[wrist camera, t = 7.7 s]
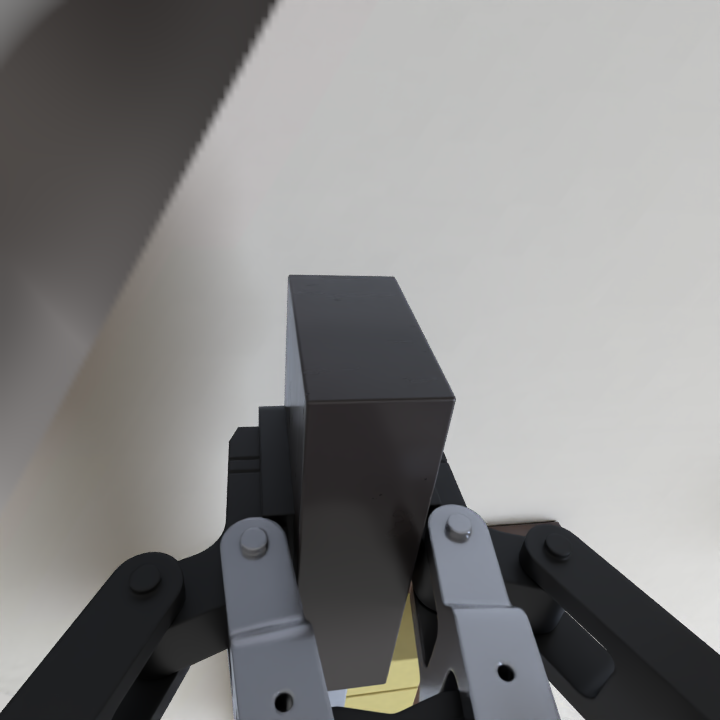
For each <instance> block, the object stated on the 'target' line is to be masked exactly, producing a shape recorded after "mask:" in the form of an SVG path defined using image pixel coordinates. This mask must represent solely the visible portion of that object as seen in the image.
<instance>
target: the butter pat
mask: <svg viewBox="0 0 720 720" xmlns="http://www.w3.org/2000/svg"><path fill="white" fill-rule="evenodd" d="M419 683H420V673H419V665H418V657H417V650H416V642H415V635H414V627H413V620H412V612H411V605H410V593H408V596H407V600H406V604H405V608H404V612H403V616H402V620H401V624H400V628H399V632H398V636H397V640H396V644H395V648H394V653H393V657H392V661H391V665H390V669H389V673H388V677H387V681H386V683H385V684H381V685H374V686H366V687H358V688H351V689H347V694H346V696H350V695H357V694H365V693H372V692H379V691H387V690H394V689H401V688H409V687H416V686H419Z"/></svg>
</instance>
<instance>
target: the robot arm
mask: <svg viewBox="0 0 720 720" xmlns="http://www.w3.org/2000/svg"><path fill="white" fill-rule="evenodd" d="M294 519H295V511H294V500H293V488H292V477H291V466H290V455H289V444H288V433H287V422H286V411H285V406H263V407H259V427H238V428H237V430H236V431H235V433H234V435H233V436H232V438H231V439H230V441H229V456H228V482H227V508H226V524H225V528H224V531H223V533H222V535H221V536H220V538H219V539H218V540H217V541H216V542H215V543H214V544H213V545H212V546H211V547H209V548H208V549H206V550H205V551H203V552H201V553H198V554H196V555H193V556H191V557H188V558H185V559H182V560H180V561H177V560H176V559H175V558H173V557H172V556H170V555H168V554H165V553H160V552H148V553H143V554H140V555H136V556H134V557H132V558H130V559H128V560H127V561H125V562H124V563H122V564H121V565H120V566H119V567H118V568H117V569H116V570H115V571H114V572H113V574H112V575H111V576H110V577H109V579H108V580H107V581H106V582H105V584H104V585H103V586H102V587H101V589H100V590H99V591H98V592H97V594H96V595H95V596H94V597H93V599H92V600H91V601H90V602H89V603H88V605H87V606H86V607H85V608H84V610H83V611H82V612H81V613H80V615H79V616H78V617H77V618H76V620H75V621H74V622H73V623H72V625H71V626H70V627H69V628H68V630H67V631H66V632H65V633H64V635H63V636H62V637H61V638H60V639H59V641H58V642H57V643H56V644H55V646H54V647H53V648H52V649H51V651H50V652H49V653H48V654H47V656H46V657H45V658H44V659H43V661H42V662H41V663H40V664H39V666H38V667H37V668H36V669H35V671H34V672H33V673H32V674H31V676H30V677H29V678H28V679H27V680H26V682H25V683H24V684H23V685H22V687H21V688H20V689H19V690H18V692H17V693H16V694H15V695H14V697H13V698H12V699H11V700H10V702H9V703H8V704H7V705H6V707H5V708H4V709H3V710H2V712H1V713H0V720H160V719H161V717H162V716H163V714H164V712H165V710H166V709H167V707H168V705H169V703H170V702H171V700H172V698H173V696H174V695H175V693H176V691H177V689H178V688H179V686H180V684H181V682H182V681H183V679H184V677H185V675H186V673H187V672H188V670H189V668H190V666H191V665H193V664H195V663H197V662H199V661H201V660H204V659H206V658H208V657H210V656H212V655H215V654H217V653H219V652H221V651H223V650H226V649H227V652H228V662H229V672H230V682H231V693H232V703H233V713H234V720H561V719H560V716H559V713H558V709H557V706H556V703H555V700H554V697H553V694H552V691H551V688H550V684H549V681H550V682H551V683H552V685H553V686H554V687H555V688H556V689H557V690H558V691H559V692H560V693H561V694H562V695H563V696H564V697H565V698H566V699H567V701H568V702H569V703H570V704H571V705H572V706H573V707H574V708H575V709H576V710H577V711H578V712H579V713H580V714H581V715H582V717H583V718H584V719H585V720H720V655H719V654H718V653H717V652H716V651H714V650H713V649H712V648H711V647H710V646H708V645H707V644H706V643H705V642H704V641H702V640H701V639H700V638H699V637H698V636H696V635H695V634H694V633H693V632H692V631H690V630H689V629H688V628H687V627H685V626H684V625H683V624H682V623H681V622H679V621H678V620H677V619H676V618H675V617H673V616H672V615H671V614H670V613H669V612H667V611H666V610H665V609H664V608H662V607H661V606H660V605H659V604H658V603H656V602H655V601H654V600H653V599H652V598H650V597H649V596H648V595H647V594H646V593H644V592H643V591H642V590H641V589H640V588H638V587H637V586H636V585H635V584H633V583H632V582H631V581H630V580H629V579H627V578H626V577H625V576H624V575H623V574H621V573H620V572H619V571H618V570H617V569H615V568H614V567H613V566H612V565H610V564H609V563H608V562H607V561H606V560H604V559H603V558H602V557H601V556H600V555H598V554H597V553H596V552H595V551H594V550H592V549H591V548H590V547H589V546H588V545H586V544H585V543H584V542H583V541H581V540H580V539H579V538H578V537H577V536H575V535H574V534H573V533H571V532H570V531H568V530H566V529H564V528H562V527H560V526H557V525H552V524H539V525H536V526H534V527H532V528H531V529H530V530H529V531H528V533H527V535H526V536H521V535H516V534H512V533H507V532H502V531H498V530H495V529H492V528H490V527H488V526H487V525H486V523H485V521H484V520H483V519H482V518H481V517H480V516H479V515H478V514H477V513H476V512H474V511H473V510H471V509H469V508H467V506H466V504H465V502H464V499H463V497H462V495H461V492H460V490H459V488H458V485H457V483H456V480H455V478H454V476H453V473H452V471H451V469H450V466H449V464H448V463H447V459H446V457H445V454H444V452H443V454H442V458H441V462H440V466H439V470H438V474H437V478H436V482H435V486H434V490H433V494H432V498H431V502H430V506H429V511H428V515H427V519H426V523H425V527H424V531H423V535H422V539H421V543H420V547H419V551H418V555H417V559H416V563H415V567H414V571H413V575H412V587H411V591H410V605H411V612H412V620H413V627H414V635H415V642H416V650H417V657H418V665H419V673H420V691H419V703H417V704H415V705H413V706H410V707H408V708H406V709H404V710H402V711H400V712H397V713H393V714H387V713H381V712H374V711H367V710H360V709H354V708H347V707H340V706H336V707H331V704H330V700H329V695H328V691H327V687H326V682H325V678H324V674H323V670H322V665H321V661H320V657H319V652H318V648H317V644H316V640H315V635H314V632H313V628H312V625H311V623H310V621H309V620H306V619H305V616H304V612H303V608H302V603H301V599H300V594H299V590H298V585H297V581H296V577H295V572H294V568H293V563H292V560H293V540H294ZM569 614H570V615H571V616H572V617H573V618H574V619H575V620H576V621H577V622H578V623H579V624H580V625H581V626H582V627H581V626H580V625H579V624H578V623H577V622H576V621H575V620H574V619H573V618H572V617H571V616H570V615H569ZM587 631H588V632H589V633H590V634H591V635H592V636H593V637H594V638H595V639H596V640H597V641H598V642H599V643H600V644H599V643H598V642H597V641H596V640H595V639H594V638H593V637H592V636H591V635H590V634H589V633H588V632H587ZM548 680H549V681H548Z"/></svg>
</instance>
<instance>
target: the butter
mask: <svg viewBox="0 0 720 720" xmlns="http://www.w3.org/2000/svg"><path fill="white" fill-rule="evenodd" d="M417 690H418V687H417V686H416V687H409V688H401V689H394V690H387V691H379V692H372V693H365V694H357V695H350V696H346V699H345V705H344V707H347V708H354V709H360V710H367V711H374V712H381V713H387V714H393V713H397V712H400V711H402V710H404V709H406V708H408V707H410V706H412V705H413V702H414V699H415V696H416V693H417Z"/></svg>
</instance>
